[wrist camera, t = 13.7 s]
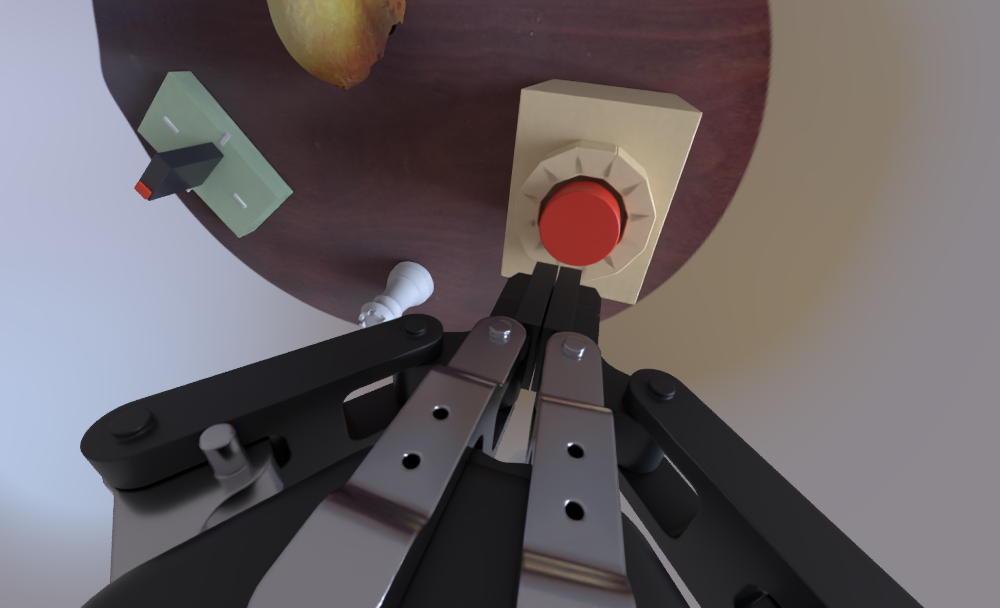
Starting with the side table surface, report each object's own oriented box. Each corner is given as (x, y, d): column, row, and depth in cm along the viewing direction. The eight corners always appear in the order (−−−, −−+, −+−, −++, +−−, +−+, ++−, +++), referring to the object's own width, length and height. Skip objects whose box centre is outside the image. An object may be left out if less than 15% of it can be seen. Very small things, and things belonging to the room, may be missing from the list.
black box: (212, 141, 33) (152, 153, 29) (224, 155, 34) (167, 169, 29) (189, 172, 36) (131, 187, 31) (202, 185, 36) (145, 202, 32)
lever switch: (296, 188, 36) (280, 195, 34) (251, 233, 41) (234, 241, 39) (193, 66, 32) (168, 66, 30) (156, 131, 37) (132, 134, 35)
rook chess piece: (386, 278, 39) (339, 322, 32) (408, 250, 36) (361, 291, 30) (421, 306, 40) (381, 354, 33) (444, 281, 37) (406, 328, 31)
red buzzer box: (631, 237, 30) (635, 322, 20) (532, 218, 31) (492, 290, 22) (675, 94, 25) (711, 117, 15) (553, 78, 26) (511, 91, 16)
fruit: (443, -22, 25) (378, -51, 18) (406, 106, 29) (345, 120, 23) (338, -86, 24) (234, -139, 18) (319, 54, 29) (231, 53, 23)
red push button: (609, 258, 19) (608, 274, 18) (539, 244, 20) (533, 258, 18) (629, 187, 17) (630, 199, 16) (551, 174, 18) (545, 184, 16)
